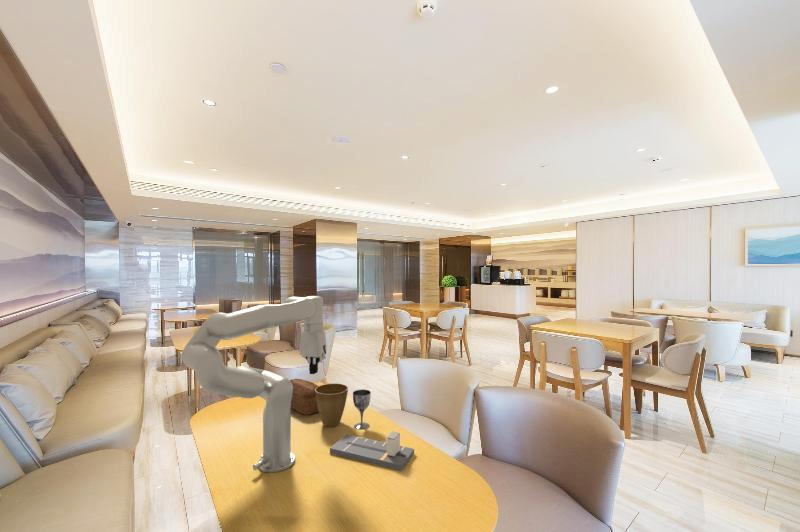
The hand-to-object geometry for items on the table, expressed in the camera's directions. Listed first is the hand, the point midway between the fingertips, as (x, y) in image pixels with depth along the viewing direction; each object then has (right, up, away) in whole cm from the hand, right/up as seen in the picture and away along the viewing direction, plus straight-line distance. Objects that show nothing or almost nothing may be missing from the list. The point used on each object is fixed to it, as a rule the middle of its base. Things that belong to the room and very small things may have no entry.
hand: (313, 373), depth 139 cm
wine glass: (+17, -29, +18) cm, 38 cm away
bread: (-16, -30, +40) cm, 52 cm away
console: (+24, -29, -6) cm, 38 cm away
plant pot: (+3, -29, +20) cm, 36 cm away
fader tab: (+32, -27, -9) cm, 43 cm away
